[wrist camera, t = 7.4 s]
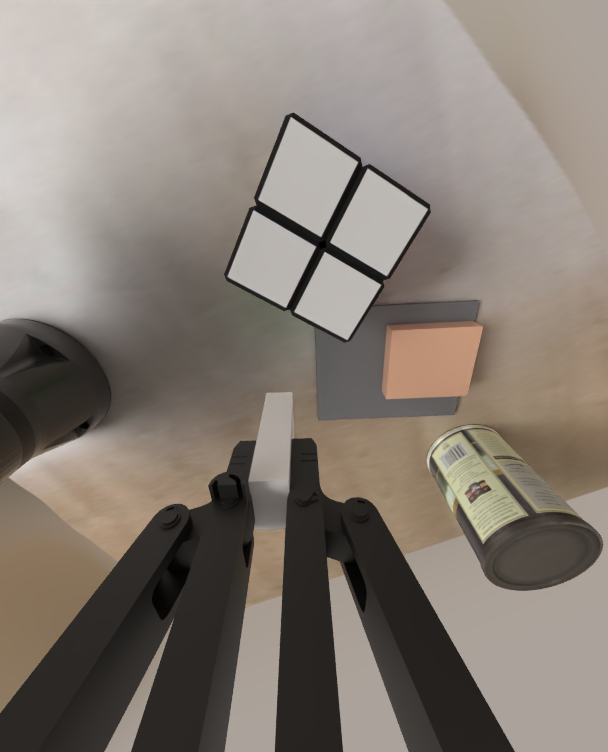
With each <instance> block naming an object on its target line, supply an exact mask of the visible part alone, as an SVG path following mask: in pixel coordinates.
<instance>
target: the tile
mask: <svg viewBox="0 0 608 752" xmlns="http://www.w3.org/2000/svg"><path fill="white" fill-rule="evenodd" d="M482 330H483V326H482V325H480V324H478V323H476V322H474V321H459V322H438V323H418V324H397V325H387V331H386V344H385V356H384V369H383V381H382V392H383V394H384V396H385V398H386V399H404V398H428V397H453V396H467V394H468V390H469V386H470V381H471V377H472V373H473V369H474V364H475V360H476V356H477V352H478V347H479V343H480V339H481V335H482Z"/></svg>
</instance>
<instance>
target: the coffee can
mask: <svg viewBox="0 0 608 752" xmlns="http://www.w3.org/2000/svg"><path fill="white" fill-rule="evenodd" d="M427 466H428V469H429V471H430V472H431V474H432V475H433V477H434V479H435V480H436V482H437V484H438V486H439V488H440V489H441V491H442V493H443V495H444V497H445V499H446V501H447V502H448V504H449V506H450V508H451V510H452V512H453V513H454V515H455V517H456V519H457V521H458V523H459V525H460V526H461V528H462V530H463V532H464V534H465V536H466V537H467V539H468V541H469V543H470V545H471V546H472V548H473V550H474V552H475V554H476V556H477V558H478V560H479V561H480V564H481V567H482V570H483V572H484V574H485V576H486V577H487V579H489V581H491V582H492V583H493V584H495V585H496V586H499V587H501V588H505V589H510V590H519V591H526V590H527V591H528V590H538V589H543V588H548V587H552V586H555V585H558V584H561V583H564V582H566V581H568V580H571V579H572V578H574V577H576V576H578V575H580V574H581V573H583V572H584V571H586V570H587V569H588V568H589V567H590V566H591V565H593V564H594V563H595V561H596V560H597V559H598V557H599V556H600V554H601V551H602V548H603V541H602V538H601V535H600V534H599V533H598V532H597V531H596V530H595V529H594V528H593V527H592V526H591V525H590V524H588V523H587V522H585V521H584V520H583V519H582V518H581V517H580V516H579V515H578V514H577V513H576V512H575V511H574V510H573V509H572V508H571V507H570V506H569V505H568V504H567V503H566V502H565V501H564V500H563V499H562V498H561V497H560V496H559V495H558V494H557V493H556V492H555V491H554V490H553V489H552V488H551V487H550V486H549V485H548V484H547V483H546V482H545V481H544V480H543V479H542V478H541V477H540V476H539V475H538V474H537V473H536V472H535V471H534V470H533V469H532V468H531V467H530V466H529V465H528V464H527V463H526V462H525V461H524V460H523V459H522V458H521V457H520V456H519V455H518V454H517V453H516V452H515V451H514V450H513V449H512V448H511V447H510V446H509V445H508V444H507V443H506V442H505V441H504V440H503V439H502V437H501V436H500V435H499V434H498V433H497V432H496V431H495V430H493V429H491V428H489V427H486V426H482V425H465V426H461V427H457V428H455V429H452V430H450V431H448V432H447V433H445V434H443V435H442V436H441V437H439V438H438V439H437V440H436V441H435V442H434V444H433V445H432V446H431V448H430V450H429V452H428V455H427Z"/></svg>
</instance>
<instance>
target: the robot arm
mask: <svg viewBox="0 0 608 752" xmlns="http://www.w3.org/2000/svg"><path fill="white" fill-rule="evenodd" d="M109 405H110V389H109V385H108V382H107V379H106V377H105V374H104V372H103V371H102V369H101V367H100V366H99V364H98V363H97V361H96V360H95V359H94V358H93V356H92V355H91V354H90V353H89V352H88V351H87V350H86V349H85V348H84V347H83V346H82V345H80V344H79V343H78V342H77V341H75V340H74V339H73V338H71V337H70V336H68V335H66V334H65V333H63V332H61V331H59V330H57V329H55V328H53V327H51V326H48V325H46V324H43V323H40V322H36V321H31V320H25V319H8V320H2V321H0V483H2V482H3V481H4V480H5V479H6V478H8V477H9V476H10V475H11V474H13V473H14V472H15V471H16V470H17V469H19V468H20V467H21V466H22V465H24V464H25V463H26V462H27V461H29V460H30V459H31V458H33V457H36V456H38V455H40V454H43V453H45V452H47V451H50V450H52V449H54V448H57V447H59V446H61V445H64V444H66V443H68V442H71V441H73V440H75V439H78V438H80V437H82V436H83V435H85V434H86V433H88V432H89V431H90V430H91V429H93V428H94V427H95V426H96V425H97V424H98V423H99V422H100V421H101V420H102V419H103V418H104V417H105V415H106V413H107V411H108V409H109ZM208 486H209V490H210V494H211V498H212V501H211V502H210V503H208V504H206V505H203V506H201V507H197V508H194V509H191V510H189V509H188V508H187V506H185V505H182V504H173V505H170V506H167V507H165V508H163V509H162V510H160V511H159V512H158V513H157V514H156V515H155V516H154V517H153V518H152V520H151V521H150V522H149V524H148V525H147V526H146V527H145V529H144V530H143V531H142V533H141V534H140V535H139V536H138V538H137V539H136V540H135V541H134V543H133V544H132V545H131V547H130V548H129V549H128V550H127V552H126V553H125V554H124V556H123V557H122V558H121V559H120V561H119V562H118V563H117V565H116V566H115V567H114V568H113V570H112V571H111V572H110V574H109V575H108V576H107V577H106V579H105V580H104V581H103V583H102V584H101V585H100V586H99V588H98V589H97V590H96V591H95V593H94V594H93V595H92V597H91V598H90V599H89V601H88V602H87V603H86V604H85V606H84V607H83V608H82V610H81V611H80V612H79V613H78V615H77V616H76V617H75V618H74V620H73V621H72V622H71V623H70V625H69V626H68V627H67V629H66V630H65V631H64V632H63V634H62V635H61V636H60V638H59V639H58V640H57V642H56V643H55V644H54V645H53V647H52V648H51V649H50V650H49V652H48V653H47V654H46V655H45V657H44V658H43V659H42V661H41V662H40V663H39V665H38V666H37V667H36V668H35V670H34V671H33V672H32V673H31V675H30V676H29V677H28V679H27V680H26V681H25V682H24V684H23V685H22V686H21V688H20V689H19V690H18V691H17V693H16V694H15V695H14V696H13V698H12V699H11V700H10V702H9V703H8V704H7V705H6V707H5V708H4V709H3V711H2V712H1V713H0V752H104V751H105V749H106V747H107V745H108V743H109V741H110V740H111V738H112V736H113V734H114V732H115V730H116V728H117V726H118V724H119V722H120V721H121V719H122V716H123V715H124V713H125V711H126V709H127V707H128V705H129V703H130V701H131V700H132V697H133V696H134V694H135V692H136V690H137V688H138V686H139V684H140V682H141V680H142V678H143V677H144V675H145V673H146V671H147V669H148V667H149V665H150V663H151V661H152V659H153V657H154V655H155V654H156V652H157V650H158V648H159V646H160V644H161V642H162V640H163V638H164V636H165V634H166V633H167V631H168V629H169V627H170V625H171V623H172V621H173V619H174V621H173V624H172V627H171V630H170V633H169V636H168V639H167V642H166V645H165V649H164V652H163V655H162V658H161V661H160V664H159V668H158V670H157V673H156V676H155V679H154V683H153V686H152V689H151V692H150V695H149V698H148V701H147V704H146V707H145V710H144V713H143V717H142V720H141V723H140V726H139V729H138V732H137V735H136V738H135V741H134V745H133V748H132V751H131V752H224V750H225V744H226V737H227V729H228V723H229V716H230V709H231V701H232V695H233V688H234V681H235V673H236V666H237V659H238V652H239V646H240V638H241V631H242V624H243V618H244V611H245V604H246V597H247V590H248V583H249V576H250V569H251V562H252V555H253V547H254V537H253V530H254V524H255V528H256V530H262V529H286V531H285V552H284V573H283V593H282V615H281V636H280V658H279V676H278V677H279V678H278V697H277V718H276V740H275V752H343V746H342V734H341V722H340V711H339V698H338V687H337V675H336V662H335V650H334V639H333V627H332V615H331V603H330V592H329V579H328V567H327V557H329V558H332V559H335V560H338V561H340V563H341V566H342V569H343V572H344V574H345V577H346V580H347V582H348V585H349V588H350V591H351V593H352V596H353V599H354V602H355V605H356V608H357V610H358V613H359V616H360V619H361V621H362V624H363V627H364V630H365V632H366V635H367V638H368V641H369V643H370V646H371V649H372V652H373V654H374V657H375V660H376V663H377V666H378V668H379V671H380V674H381V677H382V679H383V682H384V685H385V688H386V690H387V693H388V696H389V699H390V701H391V704H392V707H393V710H394V713H395V715H396V718H397V721H398V724H399V726H400V729H401V732H402V735H403V737H404V740H405V743H406V745H407V748H408V751H409V752H515V751H514V750H513V748H512V746H511V744H510V743H509V741H508V739H507V737H506V735H505V734H504V732H503V730H502V728H501V727H500V725H499V723H498V722H497V720H496V718H495V716H494V714H493V713H492V711H491V709H490V707H489V705H488V704H487V702H486V700H485V698H484V697H483V695H482V693H481V691H480V690H479V688H478V687H477V684H476V683H475V681H474V679H473V677H472V676H471V674H470V672H469V670H468V669H467V667H466V665H465V663H464V662H463V660H462V658H461V656H460V654H459V653H458V651H457V649H456V647H455V646H454V644H453V642H452V641H451V639H450V637H449V635H448V633H447V632H446V630H445V628H444V626H443V625H442V623H441V621H440V619H439V618H438V616H437V614H436V612H435V610H434V609H433V607H432V605H431V603H430V602H429V600H428V598H427V596H426V595H425V593H424V591H423V589H422V588H421V586H420V584H419V582H418V581H417V579H416V577H415V575H414V574H413V572H412V570H411V569H410V567H409V565H408V563H407V562H406V560H405V558H404V556H403V554H402V552H401V551H400V549H399V547H398V545H397V544H396V542H395V540H394V538H393V537H392V535H391V533H390V531H389V530H388V528H387V526H386V524H385V523H384V521H383V519H382V517H381V516H380V514H379V512H378V510H377V508H376V507H375V506H374V505H373V504H372V503H371V502H370V501H368V500H366V499H363V498H359V497H357V498H351V499H349V500H346V502H345V503H341V502H337V501H334V500H331V499H329V498H328V497H326V496H325V495H324V494H323V492H322V490H321V488H320V482H319V470H318V458H317V446H316V444H315V442H314V441H313V440H312V438H304V439H294V414H293V394H292V392H279V393H266V398H265V403H264V407H263V412H262V417H261V422H260V427H259V432H258V436H257V441H240V442H239V443H238V444H237V445H236V447H235V448H234V450H233V453H232V456H231V459H230V463H229V466H228V469H227V472H224V473H222V474H219V475H217V476H216V477H215V478H214V479H212V480H211V482H210V484H209V485H208ZM174 617H175V618H174Z"/></svg>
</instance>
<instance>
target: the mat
mask: <svg viewBox="0 0 608 752" xmlns="http://www.w3.org/2000/svg"><path fill="white" fill-rule="evenodd" d="M478 306H479V301H477V300H476V301H456V302H436V303H416V304H396V305H377V306H372V307H371V309H370V310H369V312H368V314H367V315H366V317H365V319H364V320H363V322H362V323H361V325H360V327H359V328H358V330H357V331H356V333H355V335H354V336H353V338H352V340H351V341H349V342H346V343H344V342H342V341H340V340H338V339H336V338H335V337H333V336H331V335H329V334H327V333H325V332H323V331H321V330H319V329H317V328H316V327H315V341H316V370H317V398H318V420H336V419H361V418H387V417H413V416H438V415H455V410H456V406H457V401H458V397H459V396H453V397H428V398H404V399H386V398H385V396H384V394H383V392H382V381H383V369H384V356H385V344H386V331H387V325H397V324H418V323H438V322H459V321H474V322H475V319H476V315H477V310H478Z"/></svg>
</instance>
